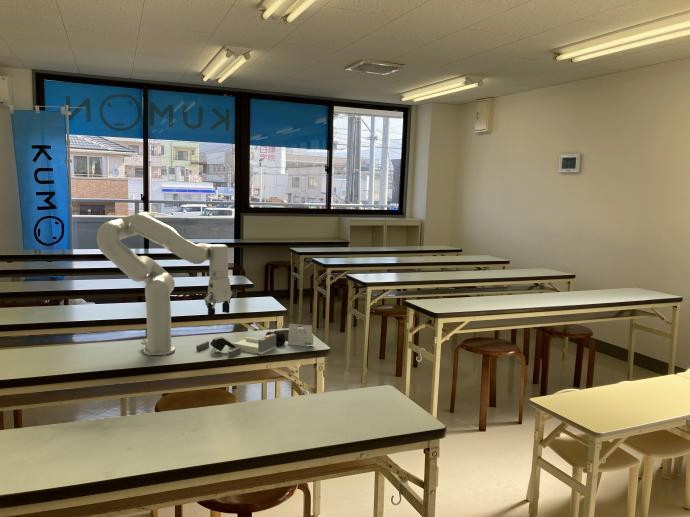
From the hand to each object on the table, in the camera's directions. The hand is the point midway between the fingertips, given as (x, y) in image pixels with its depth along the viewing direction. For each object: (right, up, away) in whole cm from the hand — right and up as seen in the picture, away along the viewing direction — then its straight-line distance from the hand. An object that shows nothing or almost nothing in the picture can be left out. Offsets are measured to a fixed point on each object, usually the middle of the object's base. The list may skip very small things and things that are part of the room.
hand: (218, 314), depth 240 cm
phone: (+25, -13, +30) cm, 41 cm away
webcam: (+21, -15, +16) cm, 31 cm away
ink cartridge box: (+33, -15, +16) cm, 39 cm away
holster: (-1, -16, +2) cm, 16 cm away
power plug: (+2, -16, +3) cm, 17 cm away
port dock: (+12, -15, +9) cm, 22 cm away
